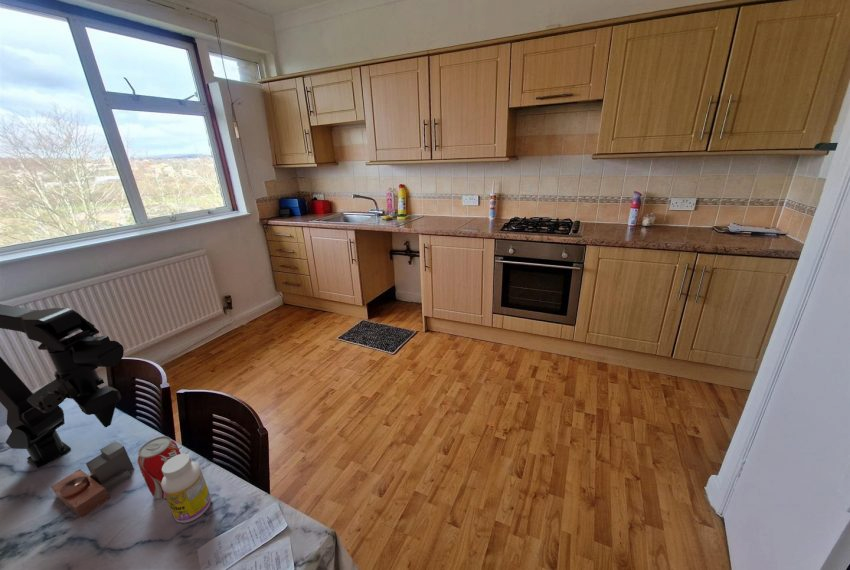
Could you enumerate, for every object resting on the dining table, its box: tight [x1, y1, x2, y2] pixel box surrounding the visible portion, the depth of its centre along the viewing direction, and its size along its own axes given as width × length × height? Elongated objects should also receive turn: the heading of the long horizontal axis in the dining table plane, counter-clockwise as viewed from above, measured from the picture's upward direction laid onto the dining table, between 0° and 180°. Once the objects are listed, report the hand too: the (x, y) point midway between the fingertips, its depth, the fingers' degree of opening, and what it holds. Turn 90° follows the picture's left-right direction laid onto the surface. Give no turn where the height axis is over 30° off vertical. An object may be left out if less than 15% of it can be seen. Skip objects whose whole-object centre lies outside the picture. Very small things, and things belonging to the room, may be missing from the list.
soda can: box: [137, 435, 182, 500], centre depth 76 cm, size 7×7×12 cm
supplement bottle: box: [161, 453, 212, 524], centre depth 71 cm, size 7×7×13 cm
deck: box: [50, 468, 131, 519], centre depth 78 cm, size 12×10×4 cm
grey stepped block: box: [85, 440, 135, 485], centre depth 81 cm, size 4×6×7 cm, turn 153°
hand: (99, 419), depth 84 cm, fingers open, 9 cm apart
